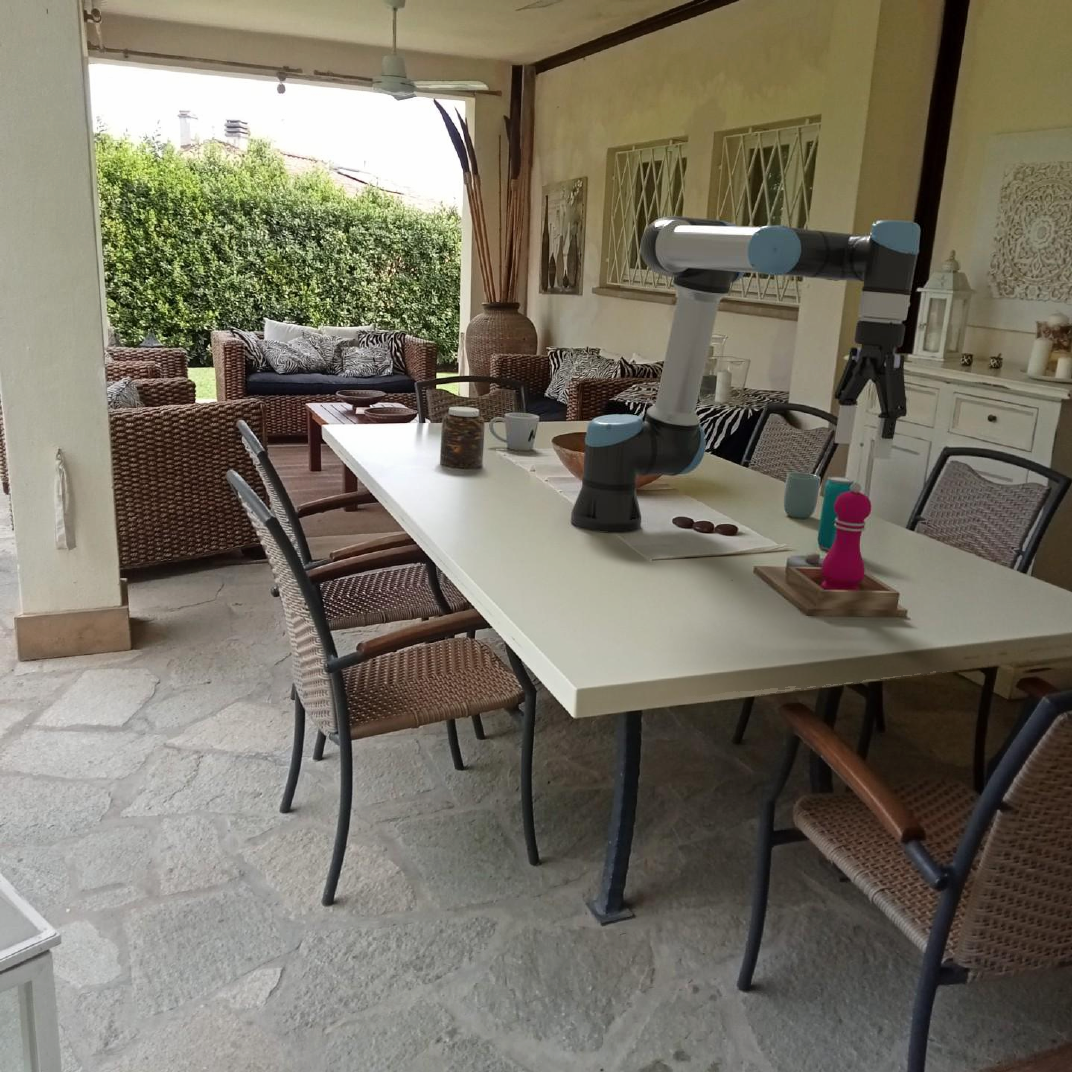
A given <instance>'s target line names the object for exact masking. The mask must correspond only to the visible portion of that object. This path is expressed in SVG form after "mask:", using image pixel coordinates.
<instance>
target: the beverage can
mask: <svg viewBox="0 0 1072 1072" xmlns="http://www.w3.org/2000/svg"><path fill="white" fill-rule="evenodd" d="M853 483H855V480H854V479H853V478H849V477H845V476H835V475H834V476H828V477H827V481H826V483H825V485H824V486H825V487H824V492H823V499H822V504H821V505H822V506H821V511H820V520H819V524H818V525H819V526H818V532H817V539H816V540H817V544H818V547H819V549H821V550H823V551H826V552H827V551H828V552H829V551H830V549H831V547H832V546H833V543H834V541H835V536H836V527H835V526H834V524H835V522H836V521H835V519H836V518H837V517H838V516H837V514H836V512H835V510H834V504H835V501H836V499H837V497H838V496H839V495H840V494H842V493H844V492H848V491H851V490H850V486H851V485H852V484H853Z"/></svg>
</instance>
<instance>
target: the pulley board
mask: <svg viewBox="0 0 1072 1072" xmlns="http://www.w3.org/2000/svg"><path fill="white" fill-rule="evenodd" d="M824 559H825V558H822V557H821V554H820V553H817V552H806V555H791V556H788V557H787V558H786V563H785V564H786V565H785V566H777V565H776V566H773V565H772V566H771V565H754V566H753V573H754V574H755V575H756V576H757V577H759V578H760V579H761V580H762V581H764V582H765V583H766V584H768V585H769V586H770V587H771V588H772V589H773V590H774V591H776V592H777V593H778V594H780V595H781V596H782V597H783V598H784V599H786V601H788V602H789V603H791V605H793V606H794V607H796V609H798V610H799V611H800V612H802V613H803V614H804V615H806V616H817V617H818V616H825V617H828V616H829V617H830V616H831V617H835V616H836V617H882V618H883V617H887V618H888V617H889V618H895V617H896V618H907V616H908V609H906V608H905V607H903V606H902V605H901V604H899V600H900V596H901V595H900V592H899V591H897V590H896V589H894V588H893V587H891V586H889V585H887V584H886V583H885V582H883V581H881V580H880V579H878V578H876V577H875V576H874V575H872V574H871V573H870V572H869V573H868V572H867V571H866V570H865V571H864V578H863V580H862V581H861V582H860V583H858V584H857V585H856V586H857V587H858V588H859V590H824V589H823V588H821V585H822V583H823V582H824V581H825V579H824V577H823V576H822V574H821V566H822V563H823V561H824Z"/></svg>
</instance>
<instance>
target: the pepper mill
mask: <svg viewBox="0 0 1072 1072" xmlns="http://www.w3.org/2000/svg"><path fill="white" fill-rule="evenodd" d="M850 490H851V491H848V492H844V493H842V494H840V495H839V496H838V497H837V499H836V501H835V504H834V510H835V512H836V514H837V516H838V517H837V518H836V519H835V521H836V522H835V524H834V526H835V527H836V536H835V541H834V543H833V546H832V547H831V549H830V551H828V552H827V554H826V555H825V557H824V558H823V559H824V561H823V563H822V566H821V574H822V576H823V577H824V579H825V581H824V582H823V583H822V585H821V588H823V589H824V590H859V588H858V587H857V586H856V585H857V584H858V583H860V582H861V581H862V580H863V578H864V571H866V569H865V563H864V560H863V557H862V553H861V545H860V544H861V536H862V532H864V531H865V530H866V528H865V526H866V524H867V523H866V521H865V520H866V519H867V518H868V517H869V516H870V514H871V512H872V502H871V500H870V499H869V497H868V496H867V495H866V494H864V493H862V492H861V491H862V486H861V484H860V483H858V482H853V484H852V485H851V486H850Z"/></svg>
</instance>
